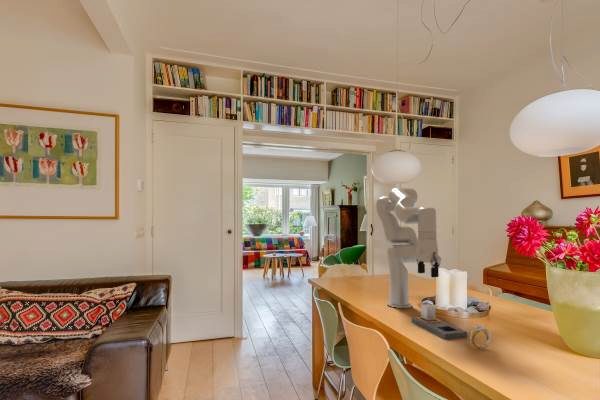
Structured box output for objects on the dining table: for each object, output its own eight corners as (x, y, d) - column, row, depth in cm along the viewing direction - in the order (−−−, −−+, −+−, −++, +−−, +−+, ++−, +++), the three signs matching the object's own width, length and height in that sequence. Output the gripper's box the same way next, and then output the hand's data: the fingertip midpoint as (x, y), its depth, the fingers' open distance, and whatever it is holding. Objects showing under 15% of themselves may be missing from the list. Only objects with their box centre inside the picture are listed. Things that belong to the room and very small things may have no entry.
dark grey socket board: (411, 322, 147) (411, 316, 147) (431, 320, 149) (431, 315, 149) (444, 339, 126) (444, 333, 126) (467, 337, 128) (467, 331, 128)
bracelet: (487, 347, 118) (486, 323, 119) (493, 350, 115) (492, 326, 115) (468, 347, 118) (467, 324, 118) (473, 351, 115) (472, 327, 115)
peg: (421, 323, 145) (421, 305, 145) (429, 323, 146) (428, 304, 146) (427, 326, 141) (426, 307, 141) (435, 325, 142) (434, 306, 142)
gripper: (408, 234, 154) (409, 272, 153) (431, 237, 137) (432, 279, 137) (423, 234, 156) (423, 271, 155) (447, 236, 139) (448, 278, 138)
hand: (427, 275), depth 146 cm, fingers open, 9 cm apart
